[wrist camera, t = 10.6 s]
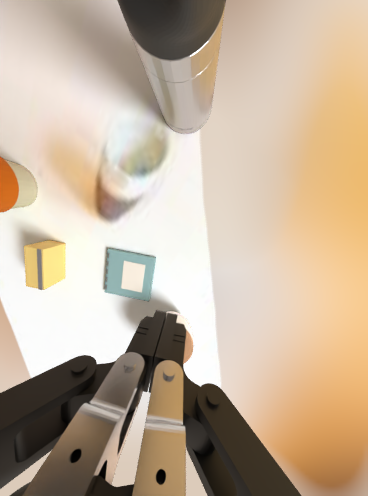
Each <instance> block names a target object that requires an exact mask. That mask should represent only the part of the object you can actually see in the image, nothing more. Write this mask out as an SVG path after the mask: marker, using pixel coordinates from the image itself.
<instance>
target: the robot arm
mask: <svg viewBox="0 0 368 496" xmlns="http://www.w3.org/2000/svg"><path fill="white" fill-rule="evenodd" d="M225 2H226V0H118V3H119V5H120V8H121V11H122V13H123V16H124V18H125V21H126V23H127V26H128V28H129V31H130V34H131V36H132V39H133V41H134V44H135V46H136V49H137V51H138V54H139V56H140V58H141V61H142V64H143V66H144V69H145V71H146V74H147V76H148V79H149V81H150V84H151V86H152V89H153V91H154V94H155V96H156V99H157V101H158V104H159V107H160V109H161V112H162V114H163V117H164V119H165V121H166V123H167V124H168V126H169V127H170V128H172V129H173V130H174V131H176V132H178V133H182V134H189V133H193V132H195V131H197V130H199V129H200V128H202V126H203V125H204V124H205V123H206V121H207V120H208V118H209V115H210V112H211V107H212V100H213V94H214V86H215V79H216V71H217V63H218V56H219V49H220V41H221V32H222V25H223V18H224V10H225ZM166 314H167V316H166ZM177 316H178V315H177V314H172V313H167V312H163V311H158V310H156V312H155V314H154V317H153V318H152V317H148V316H147V317H145V318H144V319H143V320H141V322H140V324H139V326H138V328H137V330H136V333H135V334H134V336H133V338H132V340H131V342H130V344H129V346H128V348H127V350H126V352H125V354H123V355H121V356H120V357H119V358H118V359H117V360H116V361H115V362H112V363H106V364H97V363H96V360H95V359H94V358H93V357H91V356H87V355H83V356H78V357H75V358H73V359H71V360H69V361H67V362H65V363H63V364H61V365H59V366H56V367H54V368H52V369H50V370H48V371H46V372H44V373H42V374H40V375H37V376H35V377H33V378H31V379H29V380H27V381H25V382H23V383H21V384H19V385H16V386H14V387H12V388H10V389H8V390H6V391H4V392H2V393H0V489H1V488H2V487H3V486H5V485H6V484H7V483H9V482H10V481H11V480H13V479H14V478H15V477H17V476H18V475H19V474H21V473H22V472H23V471H25V469H27V468H29V467H30V466H31V465H33V464H34V463H35V462H36V461H38V460H39V459H40V458H41V457H43V456H44V455H46V454H47V453H48V452H50V451H51V450H52V451H51V453H50V454H49V456H48V457H47V459H46V460H45V462H44V463H43V465H42V466H41V468H40V469H39V471H38V472H37V474H36V475H35V477H34V478H33V480H32V481H31V482H30V483H28V484H26V485H24V486H23V487H21V488H20V489H19V490H17V491H16V492H14V493H13V494H12V495H10V496H186V447H187V451H188V453H189V455H190V458H191V460H192V462H193V464H194V466H195V468H196V471H197V473H198V475H199V477H200V480H201V482H202V484H203V486H204V489H205V491H206V493H207V495H208V496H301V495H300V493H299V492H298V491H297V489H296V488H295V487H294V485H293V484H292V482H291V481H290V480H289V478H288V477H287V476H286V475H285V473H284V472H283V470H282V469H281V468H280V467H279V465H278V464H277V463H276V461H275V460H274V459H273V457H272V456H271V455H270V453H269V452H268V451H267V449H266V448H265V447H264V445H263V444H262V443H261V441H260V440H259V438H258V437H257V436H256V434H255V433H254V432H253V430H252V429H251V428H250V427H249V425H248V424H247V422H246V421H245V420H244V418H243V417H242V416H241V415H240V413H239V412H238V410H237V409H236V408H235V406H234V405H233V404H232V402H231V401H230V400H229V399H228V397H227V396H226V394H225V393H224V392H223V391H222V390H221V389H220V388H219V387H218V386H216V385H214V384H204V385H202V386H201V387H200V386H198V385H197V384H195V383H193V382H192V381H191V380H190V379H189V378H188V377H187V376H186V374H185V372H184V369H183V361H184V351H185V341H186V328H185V326H184V324H181V323H176V321H177ZM150 380H151V381H150ZM149 384H150V387H149ZM148 388H149V392H150V393H151V395H150V401H149V406H148V412H147V417H146V422H145V428H144V433H143V439H142V445H141V450H140V455H139V460H138V466H137V472H136V478H135V482H134V484H133V485H127V486H121V487H114V486H112V485H111V484H112V481H113V478H114V474H115V470H116V466H117V463H118V460H119V457H120V455H121V452H122V449H123V446H124V444H125V441H126V438H127V435H128V433H129V430H130V427H131V425H132V422H133V419H134V416H135V414H136V411H137V408H138V404H139V402H140V399H141V396H142V392H143V391H145V392H147V391H148Z"/></svg>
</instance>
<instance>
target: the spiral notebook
mask: <svg viewBox="0 0 368 496" xmlns="http://www.w3.org/2000/svg"><path fill="white" fill-rule="evenodd" d="M155 261H156V257H152V256H147V255H142V254H137V253H132V252H127V251H122V250H117V249H112V248H109V249H108V252H107V266H106V280H105V292H106V293H111V294H116V295H121V296H125V297H130V298H135V299H140V300H144V301H149V300H150V295H151V288H152V282H153V275H154V268H155Z"/></svg>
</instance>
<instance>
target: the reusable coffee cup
mask: <svg viewBox="0 0 368 496" xmlns="http://www.w3.org/2000/svg"><path fill="white" fill-rule="evenodd" d="M37 193H38V187H37V183H36V180H35V178H34V176H33V175H32V174H31V172H30V171H29V170H28V169H26V168H25V167H23V166H21V165H19V164H16V163H13V162H10V161H7V160H5V159H3V158H1V157H0V212H5V211H7V210H9V209H12V208H19V207H26V206H29V205H31V204H32V203H33V202H34V201H35V199H36V197H37Z"/></svg>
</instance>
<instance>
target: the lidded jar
mask: <svg viewBox="0 0 368 496" xmlns="http://www.w3.org/2000/svg"><path fill="white" fill-rule="evenodd" d="M167 313H172V314H177V315H178V316H177V321H176V323H181V324H184V326H185V328H186V341H185V351H184V361H183V364H184V363H185V362H186V361H188V359H189V358H190V357H191V355H192V352H193V334H192V329H191V326H190V324H189V322H188V320H187V319H186V318H185V317H184V316H183V315H181V314H180V313H177V312H173V311H168V312H167ZM166 316H167V314H166Z"/></svg>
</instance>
